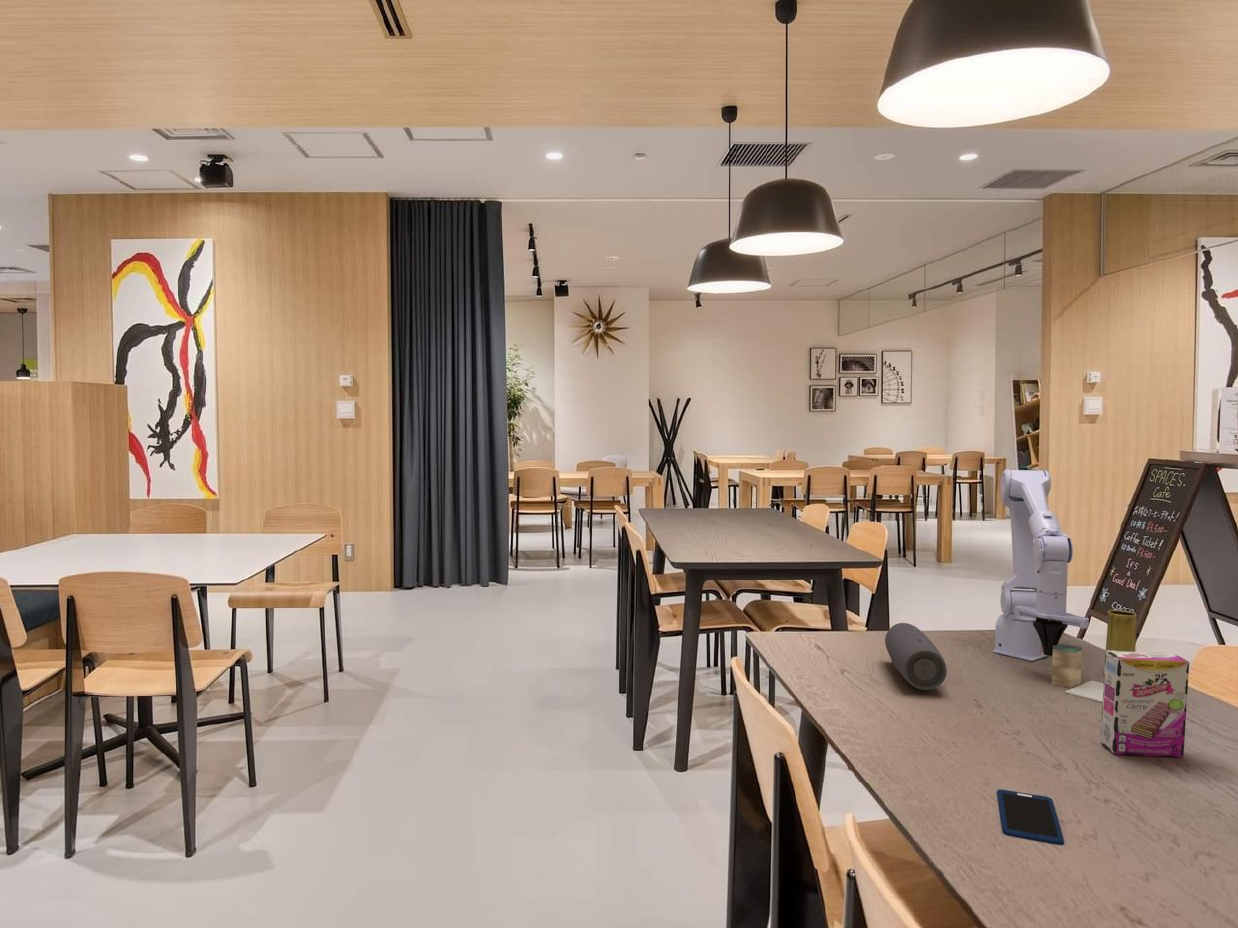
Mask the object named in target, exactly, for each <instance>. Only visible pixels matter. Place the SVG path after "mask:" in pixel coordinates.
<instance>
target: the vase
mask: <svg viewBox="0 0 1238 928" xmlns="http://www.w3.org/2000/svg"><path fill="white" fill-rule="evenodd" d="M1106 628H1107V630H1106V638H1105V639H1106V641H1105V651H1131V652H1137V651H1136V644H1137V643H1136V641H1137V640H1136V639H1137V638H1136V636H1137V635H1136V634H1137V633H1136V632H1137V614H1136V612H1133V611H1127V610H1119V609H1112V610H1111V609H1110V610H1108V611H1107V627H1106ZM1103 665H1104V668H1105V664H1103ZM1104 668H1103V669H1104ZM1102 675H1103V676H1104V671H1103V673H1102Z"/></svg>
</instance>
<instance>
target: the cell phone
mask: <svg viewBox="0 0 1238 928" xmlns="http://www.w3.org/2000/svg"><path fill="white" fill-rule="evenodd" d="M996 796H997V797H996V798H997V804H998V810H999V811H998V812H999V819H1000V826H1001V832H1002V833H1003V834H1004V835H1006V836H1008V837H1014V838H1018V839H1024V840H1030V841H1036V842H1041V843H1047V844H1052V845H1059V846H1063V845H1064V844H1065V839H1064V836H1063V831H1062V828H1061V825H1060V821H1059V818H1058V813H1057V810H1056V807H1055V804H1054V800H1053V798H1051V797H1049V796H1046V795H1038V794H1033V793H1026V792H1020V791H1019V792H1018V791H1015V790H1014V791H1013V790H1008V789H997V791H996Z"/></svg>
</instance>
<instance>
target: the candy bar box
mask: <svg viewBox="0 0 1238 928" xmlns="http://www.w3.org/2000/svg"><path fill="white" fill-rule="evenodd" d="M1104 665H1105V668H1103V672H1104V675H1103V683H1104V686H1103V703H1102V707H1101V708H1102V710H1101V725H1100V727H1101V728H1100V744H1101V745H1102V746H1104V747H1105V748H1106V750H1108V751H1109V752H1110V753H1112V754H1114V755H1127V756H1143V757H1144V756H1145V757H1146V756H1147V757H1165V758H1168V757H1169V758H1184V753H1185V752H1184V751H1185V737H1186V736H1185V735H1186V720H1187V704H1188V702H1187V701H1188V690H1189V689H1188V687H1189V672H1190V661H1189V660H1187V659H1185V658H1183V657H1181V656H1179V655H1177V654H1175V653H1172V652H1152V651H1150V652H1149V651H1146V652H1144V651H1136V652H1131V651H1106V650H1105V653H1104Z"/></svg>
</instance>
